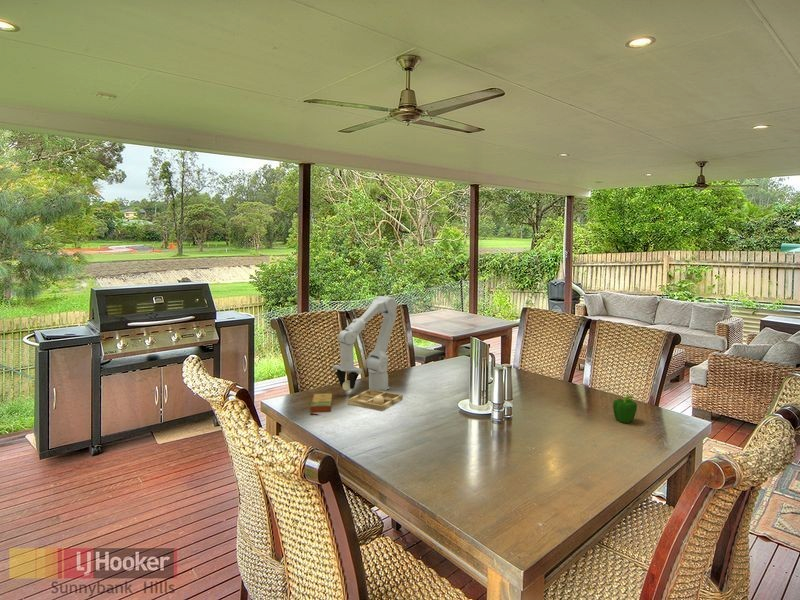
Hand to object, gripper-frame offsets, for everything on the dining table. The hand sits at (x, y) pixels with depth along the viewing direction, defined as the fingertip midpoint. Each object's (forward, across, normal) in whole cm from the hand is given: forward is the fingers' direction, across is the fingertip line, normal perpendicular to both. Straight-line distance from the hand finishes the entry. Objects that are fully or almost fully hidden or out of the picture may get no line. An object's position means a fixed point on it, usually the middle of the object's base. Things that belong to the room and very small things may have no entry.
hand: (347, 387), depth 216 cm
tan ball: (+3, +20, -6) cm, 21 cm away
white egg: (+1, 0, 0) cm, 1 cm away
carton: (+5, -1, -17) cm, 18 cm away
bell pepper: (+5, +110, +29) cm, 114 cm away
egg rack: (+4, +16, -2) cm, 17 cm away
